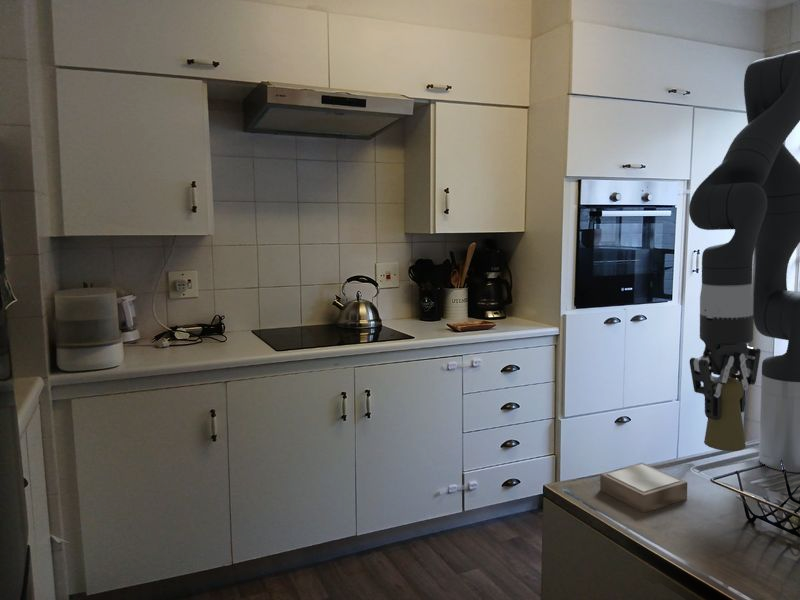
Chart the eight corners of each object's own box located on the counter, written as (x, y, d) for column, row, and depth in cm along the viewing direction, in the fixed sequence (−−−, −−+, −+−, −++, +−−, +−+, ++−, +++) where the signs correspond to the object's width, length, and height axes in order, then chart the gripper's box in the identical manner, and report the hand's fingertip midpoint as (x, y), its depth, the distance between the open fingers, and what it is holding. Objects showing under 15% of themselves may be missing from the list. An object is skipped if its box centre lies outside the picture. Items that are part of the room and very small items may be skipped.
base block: (641, 477, 114) (641, 461, 114) (686, 498, 105) (687, 481, 105) (600, 489, 110) (600, 473, 110) (643, 512, 101) (643, 494, 101)
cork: (742, 453, 96) (743, 385, 94) (700, 446, 100) (701, 380, 98) (748, 441, 101) (749, 376, 99) (708, 435, 104) (708, 372, 103)
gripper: (735, 304, 104) (733, 401, 106) (674, 314, 98) (674, 417, 100) (778, 308, 97) (776, 412, 99) (716, 320, 91) (715, 430, 93)
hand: (725, 414), depth 99 cm, fingers closed on cork, 5 cm apart
